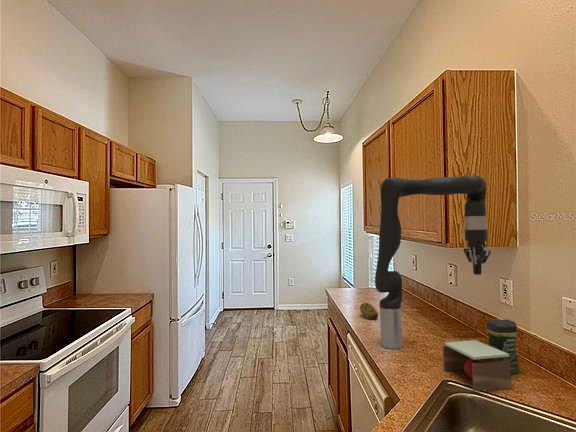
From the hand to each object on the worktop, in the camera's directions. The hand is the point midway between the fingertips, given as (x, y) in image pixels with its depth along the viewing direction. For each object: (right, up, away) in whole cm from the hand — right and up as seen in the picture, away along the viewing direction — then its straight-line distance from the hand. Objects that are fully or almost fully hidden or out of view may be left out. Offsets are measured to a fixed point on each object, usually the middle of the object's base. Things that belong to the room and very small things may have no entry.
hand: (477, 274), depth 136 cm
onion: (-6, -35, -10) cm, 37 cm away
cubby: (-6, -35, -10) cm, 37 cm away
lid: (-6, -25, -9) cm, 27 cm away
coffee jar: (+8, -35, -4) cm, 36 cm away
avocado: (-24, -37, +73) cm, 86 cm away
